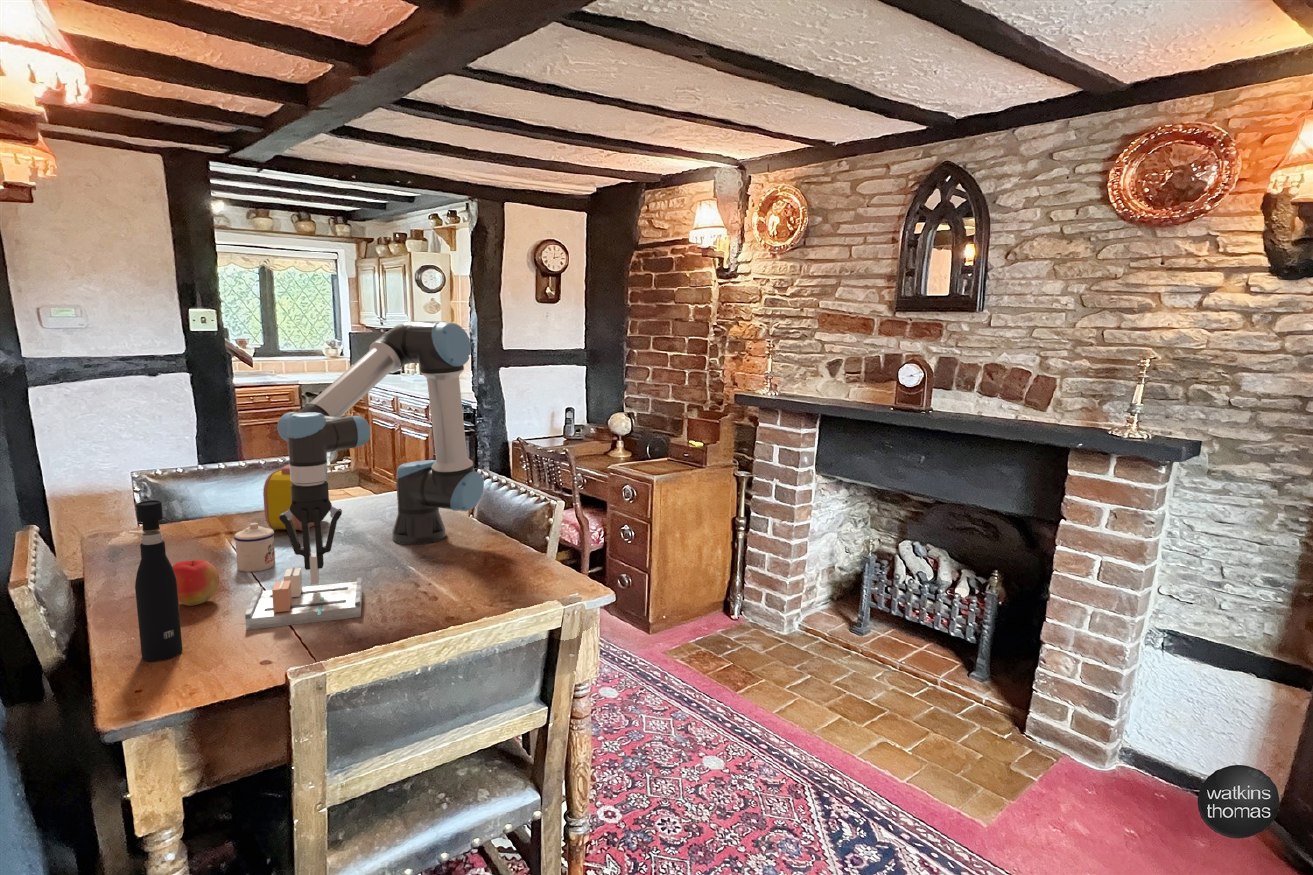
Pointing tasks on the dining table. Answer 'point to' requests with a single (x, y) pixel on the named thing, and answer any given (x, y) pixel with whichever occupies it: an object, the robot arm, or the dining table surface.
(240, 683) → the dining table surface
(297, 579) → the fader
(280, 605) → the fader
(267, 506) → the alarm clock
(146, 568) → the black water bottle
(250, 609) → the console
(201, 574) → the apple
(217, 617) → the dining table surface
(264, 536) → the teacup with lid
